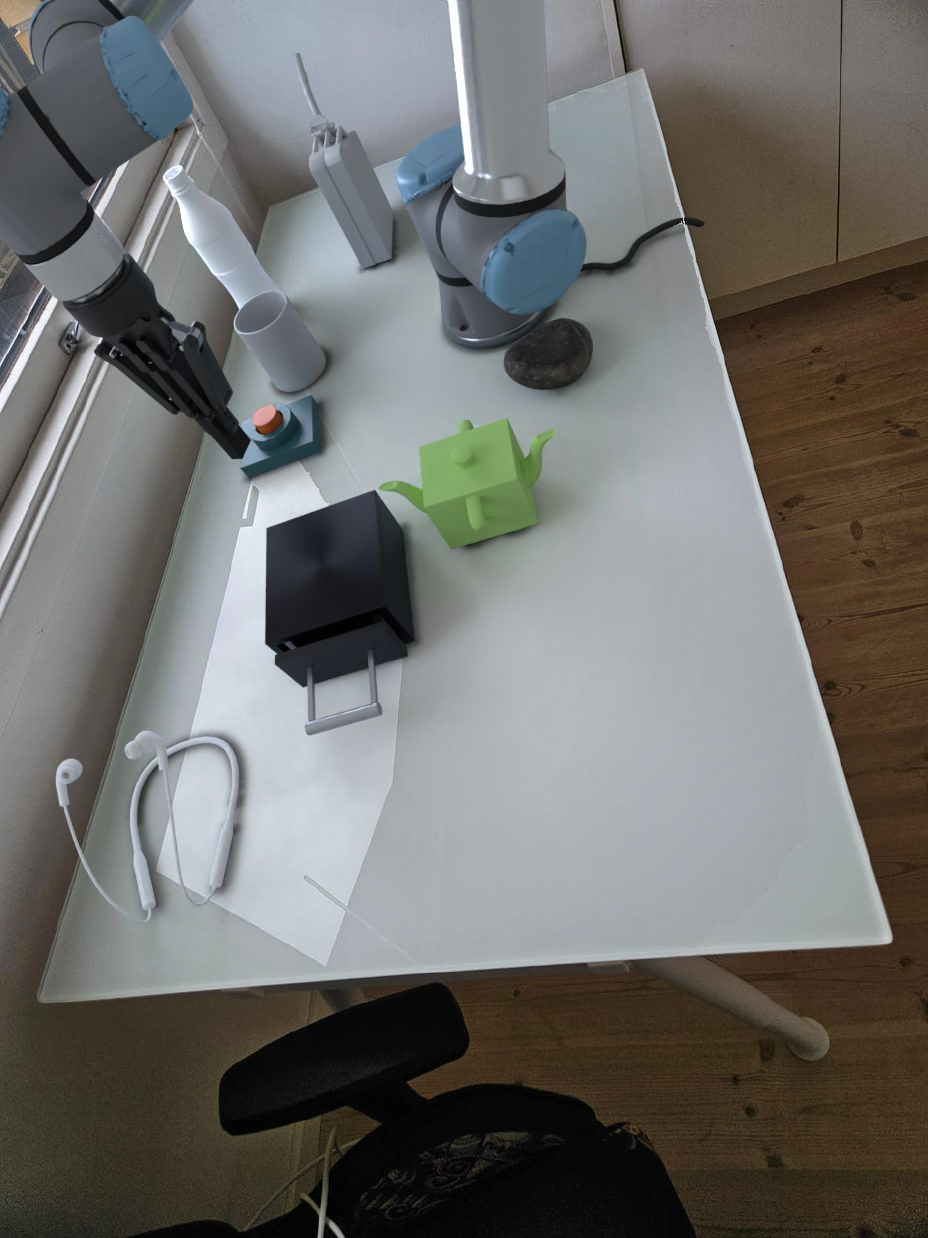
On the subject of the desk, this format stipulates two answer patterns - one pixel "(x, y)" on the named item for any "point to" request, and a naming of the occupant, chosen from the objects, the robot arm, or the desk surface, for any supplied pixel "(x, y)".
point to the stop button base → (283, 438)
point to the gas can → (349, 184)
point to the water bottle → (218, 239)
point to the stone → (550, 355)
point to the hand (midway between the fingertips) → (241, 449)
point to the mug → (280, 341)
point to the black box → (336, 571)
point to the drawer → (342, 664)
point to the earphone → (144, 746)
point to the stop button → (267, 419)
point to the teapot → (477, 482)
